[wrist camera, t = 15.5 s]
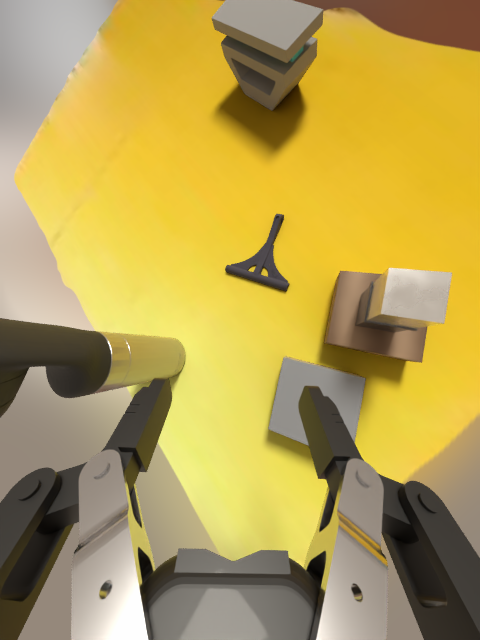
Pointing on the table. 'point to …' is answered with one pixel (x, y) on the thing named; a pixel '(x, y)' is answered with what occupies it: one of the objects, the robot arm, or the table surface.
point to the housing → (404, 300)
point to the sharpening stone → (268, 45)
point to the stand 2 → (363, 338)
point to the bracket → (263, 262)
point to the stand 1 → (332, 383)
